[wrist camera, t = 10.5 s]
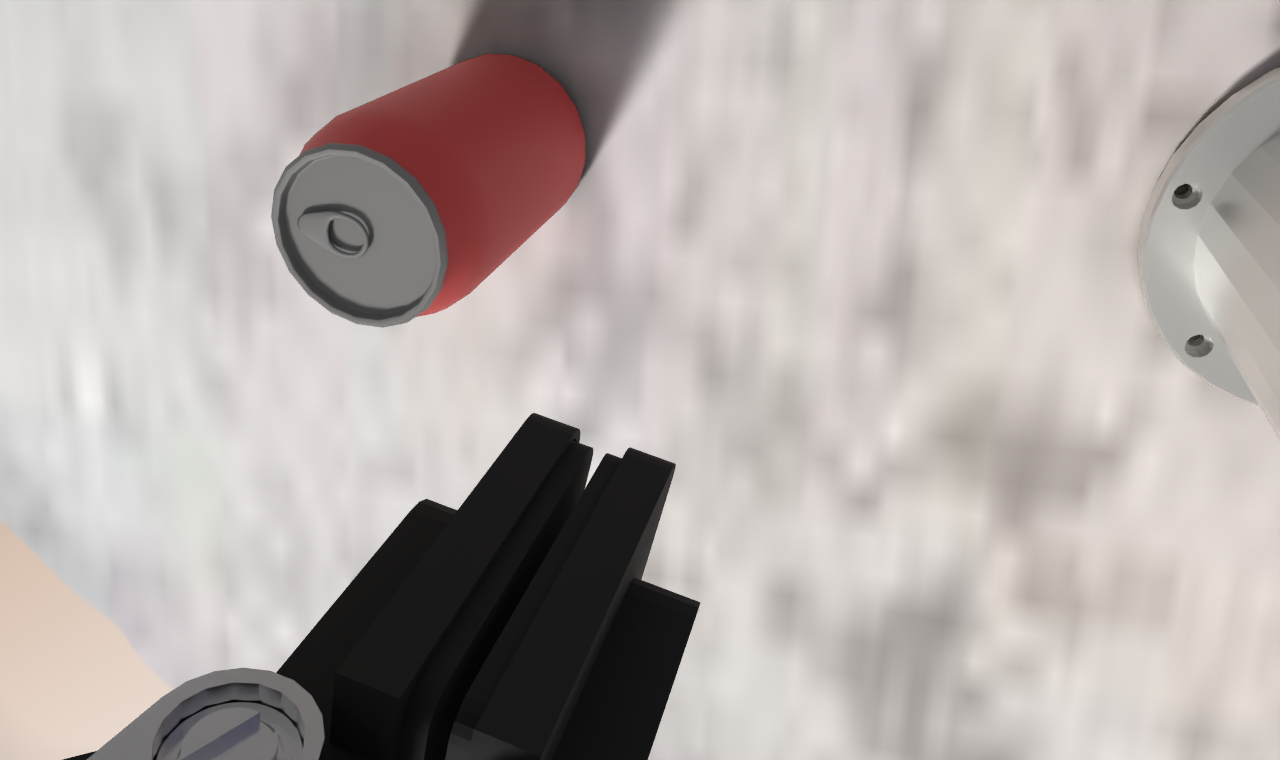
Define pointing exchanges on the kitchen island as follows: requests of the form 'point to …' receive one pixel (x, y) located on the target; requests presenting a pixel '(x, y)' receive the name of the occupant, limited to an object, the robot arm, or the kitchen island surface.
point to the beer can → (427, 189)
